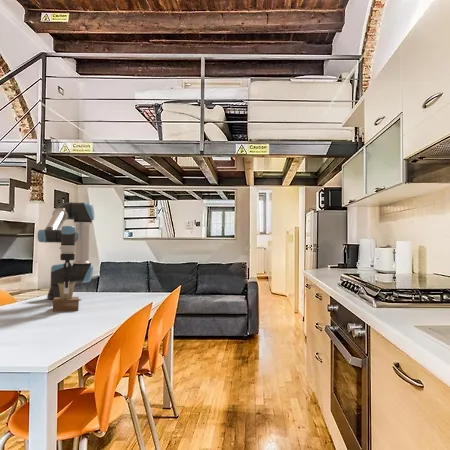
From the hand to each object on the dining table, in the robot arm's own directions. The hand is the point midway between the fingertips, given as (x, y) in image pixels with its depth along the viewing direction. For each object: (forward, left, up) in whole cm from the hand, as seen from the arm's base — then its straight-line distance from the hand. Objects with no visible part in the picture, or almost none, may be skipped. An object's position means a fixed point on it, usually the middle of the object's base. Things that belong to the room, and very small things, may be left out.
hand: (66, 292), depth 224 cm
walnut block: (0, 0, -9) cm, 9 cm away
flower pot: (0, 0, -4) cm, 4 cm away
